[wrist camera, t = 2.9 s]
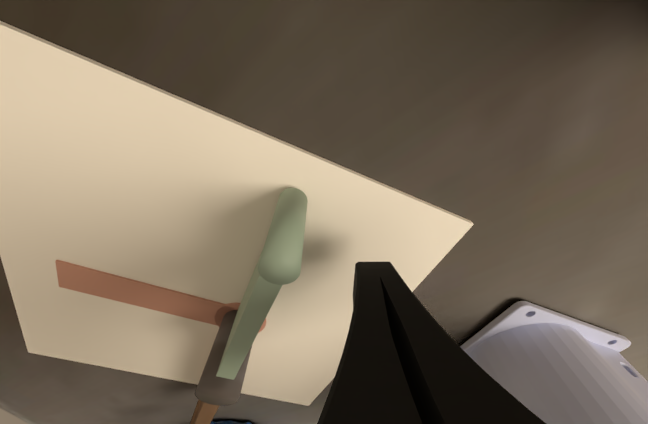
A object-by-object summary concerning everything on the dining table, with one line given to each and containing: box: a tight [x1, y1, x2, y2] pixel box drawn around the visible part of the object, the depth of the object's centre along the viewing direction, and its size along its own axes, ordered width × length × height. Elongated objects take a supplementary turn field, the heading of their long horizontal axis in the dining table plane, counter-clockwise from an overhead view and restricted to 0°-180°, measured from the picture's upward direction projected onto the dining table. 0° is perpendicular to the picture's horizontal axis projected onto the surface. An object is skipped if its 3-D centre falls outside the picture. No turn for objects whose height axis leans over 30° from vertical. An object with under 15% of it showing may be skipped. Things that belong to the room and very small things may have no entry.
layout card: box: [0, 21, 473, 406], centre depth 14 cm, size 20×20×1 cm
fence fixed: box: [190, 310, 252, 424], centre depth 15 cm, size 2×10×4 cm, turn 156°
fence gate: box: [216, 188, 308, 380], centre depth 11 cm, size 1×8×4 cm, turn 156°
